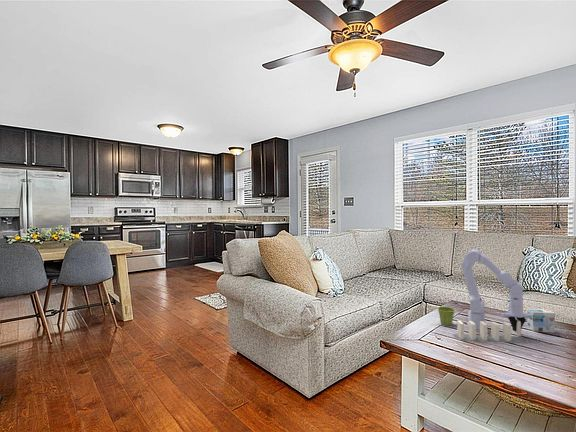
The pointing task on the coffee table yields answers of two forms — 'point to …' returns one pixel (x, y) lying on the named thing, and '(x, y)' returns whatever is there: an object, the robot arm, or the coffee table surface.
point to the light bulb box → (541, 320)
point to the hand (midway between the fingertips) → (516, 330)
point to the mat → (490, 339)
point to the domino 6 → (518, 328)
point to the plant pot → (446, 315)
